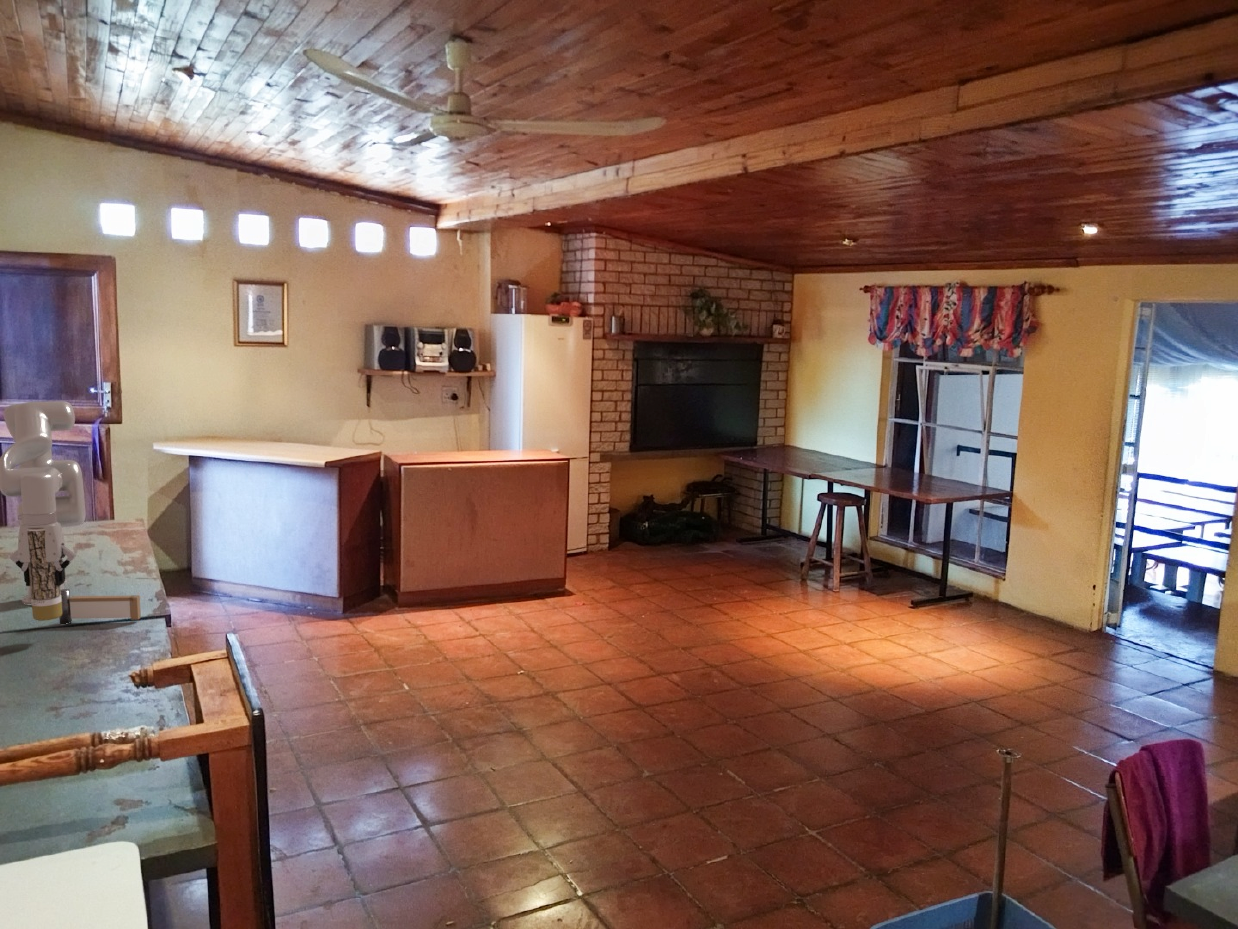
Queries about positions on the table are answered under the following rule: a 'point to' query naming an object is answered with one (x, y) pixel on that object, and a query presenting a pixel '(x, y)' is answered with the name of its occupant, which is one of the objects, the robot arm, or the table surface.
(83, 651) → the table surface
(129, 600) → the gate
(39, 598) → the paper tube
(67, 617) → the hinge post
